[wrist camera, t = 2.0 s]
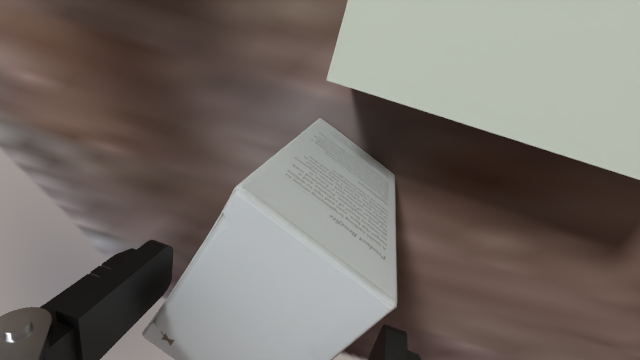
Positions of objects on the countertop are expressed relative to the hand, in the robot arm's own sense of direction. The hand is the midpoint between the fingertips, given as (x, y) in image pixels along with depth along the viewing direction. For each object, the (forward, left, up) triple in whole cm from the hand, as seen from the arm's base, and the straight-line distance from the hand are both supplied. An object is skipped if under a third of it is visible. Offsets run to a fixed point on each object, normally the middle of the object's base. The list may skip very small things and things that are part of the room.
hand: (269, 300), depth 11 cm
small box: (0, 0, -9) cm, 9 cm away
